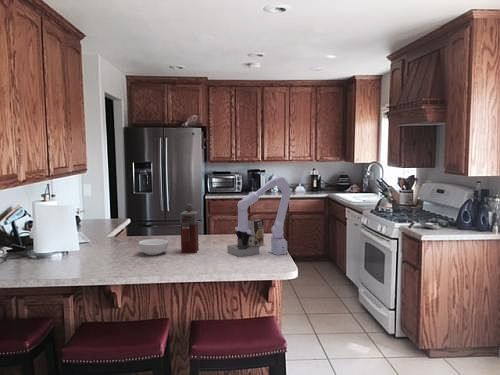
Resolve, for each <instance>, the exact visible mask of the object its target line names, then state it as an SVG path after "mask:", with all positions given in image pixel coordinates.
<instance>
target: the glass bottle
mask: <svg viewBox="0 0 500 375" xmlns="http://www.w3.org/2000/svg"><path fill="white" fill-rule="evenodd" d="M184 209H185V210H184V211H182V212H181V213H180V214H179V215H180V217H179V218H180V220H179V221H180V252H181V254H197V253H198V252H197V251H199V247H200V246H199V212H198V211H196V210H193V209H194V207H193V205H192V204H191V203H187V204H186V205H185V208H184Z"/></svg>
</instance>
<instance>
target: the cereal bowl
mask: <svg viewBox="0 0 500 375" xmlns="http://www.w3.org/2000/svg"><path fill="white" fill-rule="evenodd" d="M168 246H169V240H167V239H161V238H160V239H159V238H157V239H156V238H152V239H150V238H149V239H143V240H140V241H138V249H139V250H140V252H142V253H144V254H146V255H148V256H156V255H157V254H158V255H160V254H162V253H164V252H165V251H166V250H167V249H168V248H169V247H168Z"/></svg>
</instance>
